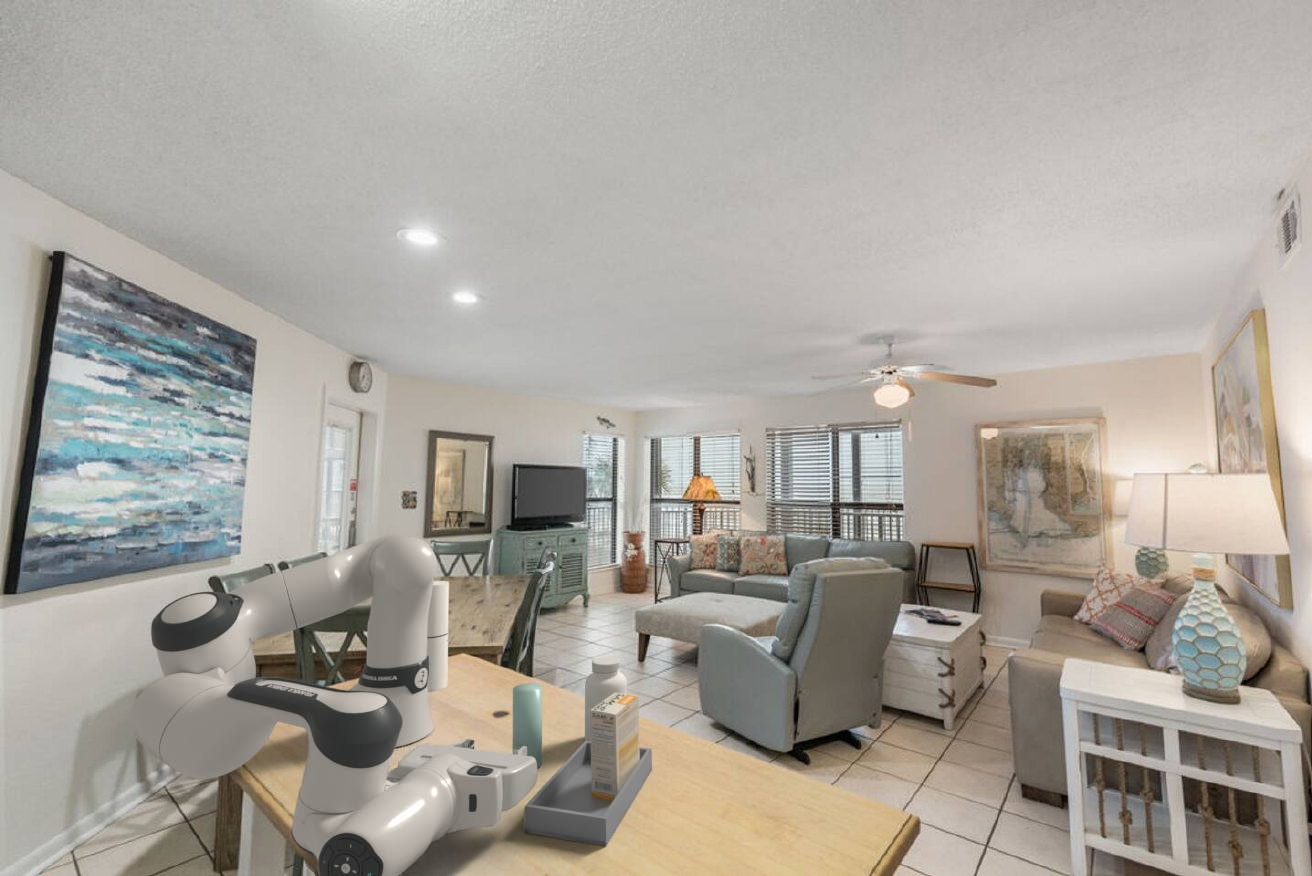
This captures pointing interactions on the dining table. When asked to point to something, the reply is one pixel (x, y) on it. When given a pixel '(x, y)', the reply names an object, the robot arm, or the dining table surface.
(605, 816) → the tote
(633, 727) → the supplement box
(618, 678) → the pill bottle
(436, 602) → the cylindrical container
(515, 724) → the candle
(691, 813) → the dining table surface
